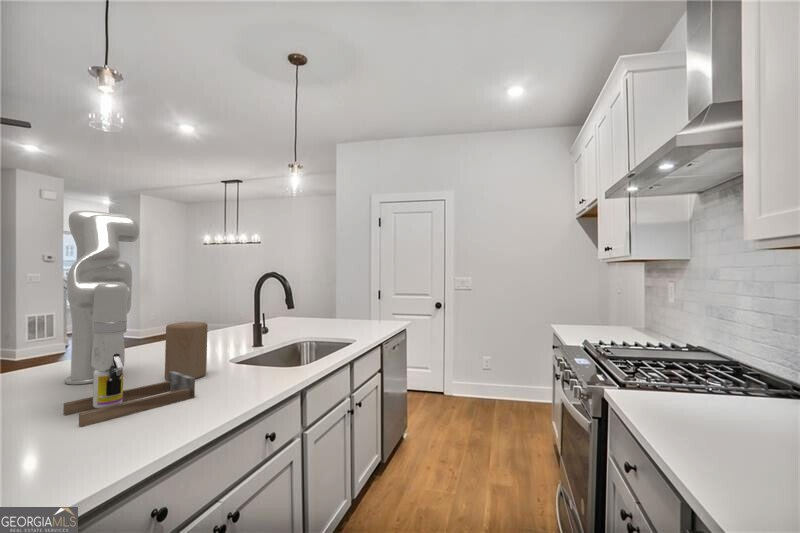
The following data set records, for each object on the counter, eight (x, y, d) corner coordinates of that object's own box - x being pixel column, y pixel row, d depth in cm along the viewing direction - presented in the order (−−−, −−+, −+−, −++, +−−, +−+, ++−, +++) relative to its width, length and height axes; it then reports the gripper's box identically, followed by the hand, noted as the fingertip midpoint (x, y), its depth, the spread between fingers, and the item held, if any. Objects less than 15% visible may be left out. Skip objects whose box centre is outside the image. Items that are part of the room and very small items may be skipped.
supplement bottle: (127, 403, 107) (129, 357, 107) (101, 410, 101) (102, 362, 101) (113, 399, 110) (115, 354, 110) (87, 406, 104) (88, 359, 104)
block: (187, 382, 133) (189, 325, 133) (163, 380, 135) (164, 324, 135) (207, 375, 143) (208, 322, 143) (184, 373, 145) (185, 321, 145)
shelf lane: (63, 414, 103) (63, 392, 103) (172, 389, 126) (173, 370, 126) (80, 427, 95) (81, 402, 95) (194, 397, 118) (194, 378, 118)
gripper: (82, 326, 107) (80, 389, 107) (105, 332, 98) (103, 402, 97) (113, 323, 114) (111, 383, 113) (138, 329, 104) (136, 394, 104)
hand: (108, 391), depth 105 cm, fingers closed on supplement bottle, 6 cm apart
